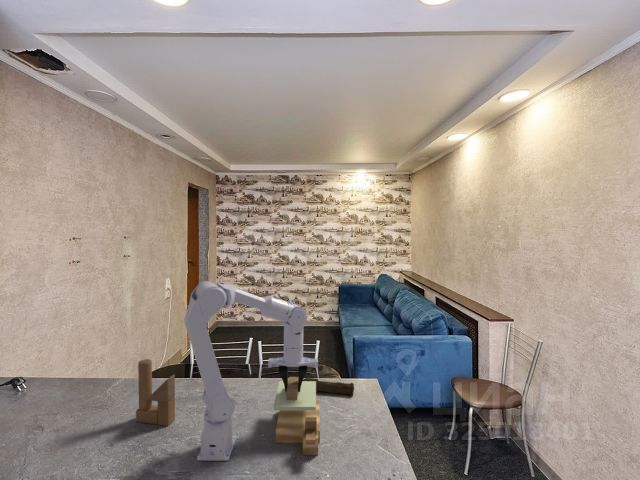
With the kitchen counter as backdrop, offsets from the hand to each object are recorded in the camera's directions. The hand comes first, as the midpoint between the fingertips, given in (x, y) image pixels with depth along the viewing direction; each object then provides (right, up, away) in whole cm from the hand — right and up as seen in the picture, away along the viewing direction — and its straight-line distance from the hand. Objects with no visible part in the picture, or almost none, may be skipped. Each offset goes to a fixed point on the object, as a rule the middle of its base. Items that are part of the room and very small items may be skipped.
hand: (292, 390), depth 103 cm
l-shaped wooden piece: (+6, -6, -13) cm, 16 cm away
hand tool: (+11, -10, +20) cm, 25 cm away
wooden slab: (+2, -11, -2) cm, 11 cm away
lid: (+1, -2, 0) cm, 2 cm away
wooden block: (-41, -10, +1) cm, 42 cm away
